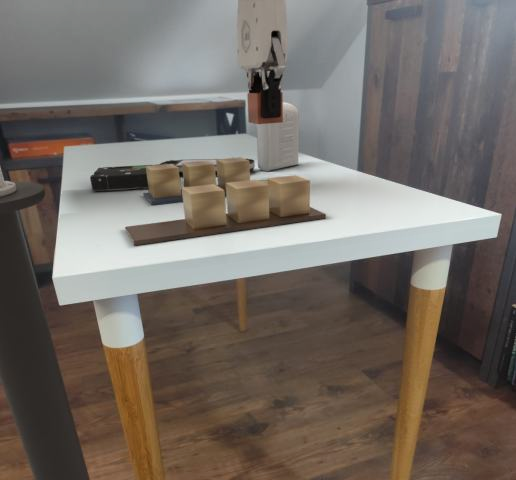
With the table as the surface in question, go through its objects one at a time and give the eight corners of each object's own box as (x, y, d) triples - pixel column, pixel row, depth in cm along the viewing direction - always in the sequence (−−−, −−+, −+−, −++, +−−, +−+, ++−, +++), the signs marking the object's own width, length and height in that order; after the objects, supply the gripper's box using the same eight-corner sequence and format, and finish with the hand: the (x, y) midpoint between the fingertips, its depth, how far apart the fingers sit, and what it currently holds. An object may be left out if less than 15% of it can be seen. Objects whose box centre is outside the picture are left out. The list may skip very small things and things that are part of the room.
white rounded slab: (285, 163, 108) (285, 100, 102) (301, 164, 106) (301, 100, 100) (254, 170, 101) (252, 103, 95) (270, 172, 99) (269, 104, 93)
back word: (151, 205, 77) (147, 172, 75) (143, 196, 83) (139, 165, 80) (290, 188, 85) (290, 158, 82) (274, 181, 90) (273, 152, 88)
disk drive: (92, 193, 87) (176, 187, 89) (89, 177, 86) (174, 170, 87) (100, 182, 96) (176, 176, 98) (97, 167, 95) (174, 161, 96)
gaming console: (155, 178, 98) (154, 164, 97) (167, 169, 106) (165, 157, 104) (252, 176, 96) (251, 162, 95) (256, 168, 104) (256, 155, 102)
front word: (134, 245, 59) (127, 203, 57) (125, 231, 65) (119, 192, 62) (325, 218, 67) (327, 180, 65) (303, 207, 73) (303, 172, 70)
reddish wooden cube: (258, 124, 79) (257, 93, 77) (248, 122, 83) (247, 93, 80) (283, 122, 80) (282, 92, 78) (272, 120, 84) (271, 91, 82)
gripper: (219, -12, 78) (227, 115, 87) (258, -32, 64) (263, 122, 73) (263, -11, 80) (266, 112, 89) (310, -30, 66) (308, 118, 75)
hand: (265, 115), depth 81 cm, fingers closed on reddish wooden cube, 4 cm apart
